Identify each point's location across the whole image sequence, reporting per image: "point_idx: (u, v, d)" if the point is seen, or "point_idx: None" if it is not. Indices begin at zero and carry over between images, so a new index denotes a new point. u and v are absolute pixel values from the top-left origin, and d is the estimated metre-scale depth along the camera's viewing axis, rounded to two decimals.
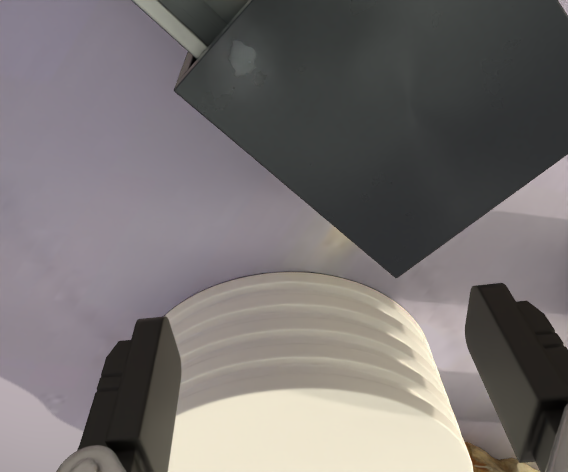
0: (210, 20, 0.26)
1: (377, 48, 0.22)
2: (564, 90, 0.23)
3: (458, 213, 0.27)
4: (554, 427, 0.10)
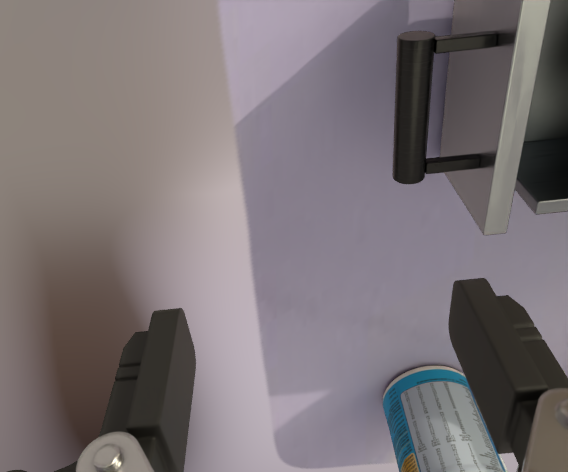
0: None
1: None
2: None
3: None
4: (529, 417, 0.10)
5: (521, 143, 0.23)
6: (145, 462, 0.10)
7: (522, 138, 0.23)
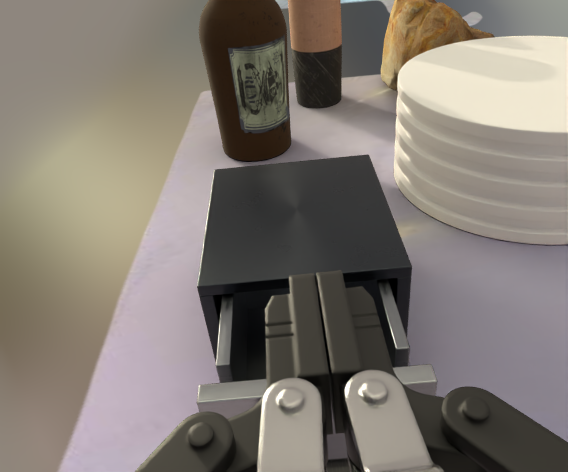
0: None
1: (292, 231, 0.37)
2: (231, 185, 0.43)
3: (313, 165, 0.45)
4: (344, 398, 0.11)
5: None
6: (318, 422, 0.10)
7: None
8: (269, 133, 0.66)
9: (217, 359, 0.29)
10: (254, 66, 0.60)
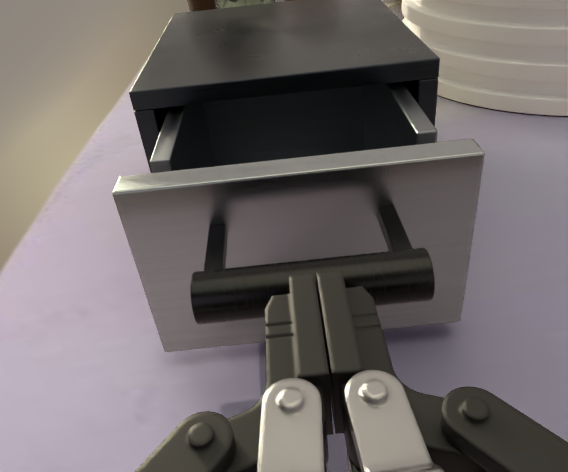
0: None
1: (269, 45, 0.27)
2: (192, 21, 0.33)
3: (300, 2, 0.35)
4: (344, 397, 0.11)
5: (329, 154, 0.18)
6: (319, 422, 0.10)
7: (323, 155, 0.18)
8: None
9: (153, 156, 0.20)
10: None
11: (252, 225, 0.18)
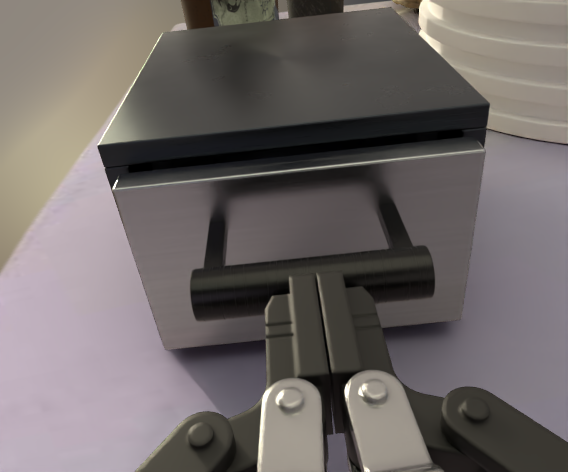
0: None
1: (273, 78, 0.22)
2: (183, 43, 0.28)
3: (309, 20, 0.30)
4: (344, 397, 0.11)
5: (330, 151, 0.18)
6: (318, 422, 0.10)
7: (323, 152, 0.18)
8: None
9: None
10: None
11: (252, 223, 0.18)
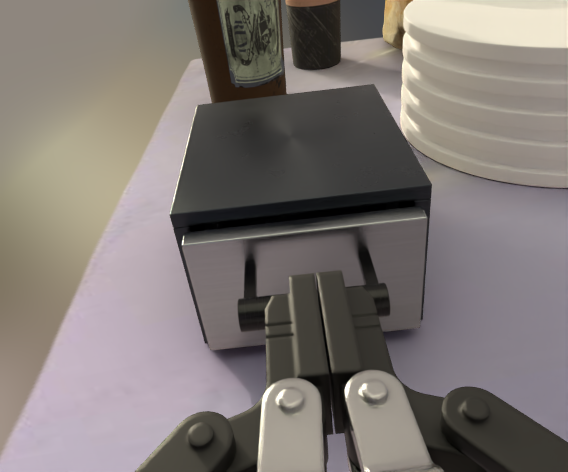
0: (368, 210, 0.35)
1: (285, 157, 0.31)
2: (215, 117, 0.37)
3: (310, 96, 0.39)
4: (344, 397, 0.11)
5: (325, 217, 0.27)
6: (318, 422, 0.10)
7: (320, 217, 0.27)
8: (262, 87, 0.60)
9: None
10: (243, 9, 0.54)
11: (273, 264, 0.27)
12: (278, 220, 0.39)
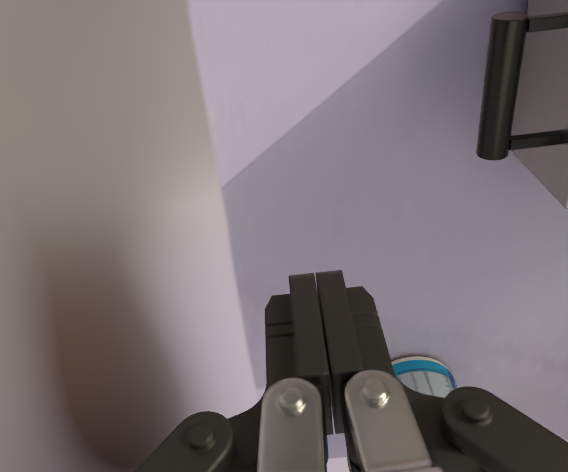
0: None
1: None
2: None
3: None
4: (344, 397, 0.11)
5: None
6: (318, 422, 0.10)
7: None
8: None
9: None
10: None
11: None
12: None
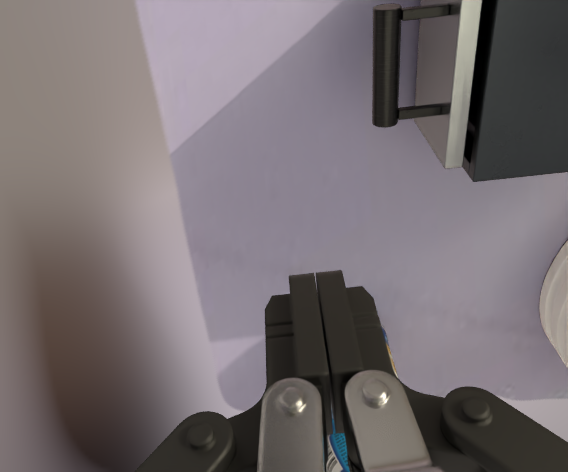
0: None
1: None
2: None
3: None
4: (344, 397, 0.11)
5: (470, 90, 0.30)
6: (318, 422, 0.10)
7: (470, 87, 0.30)
8: None
9: None
10: None
11: (446, 32, 0.30)
12: None
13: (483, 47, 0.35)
